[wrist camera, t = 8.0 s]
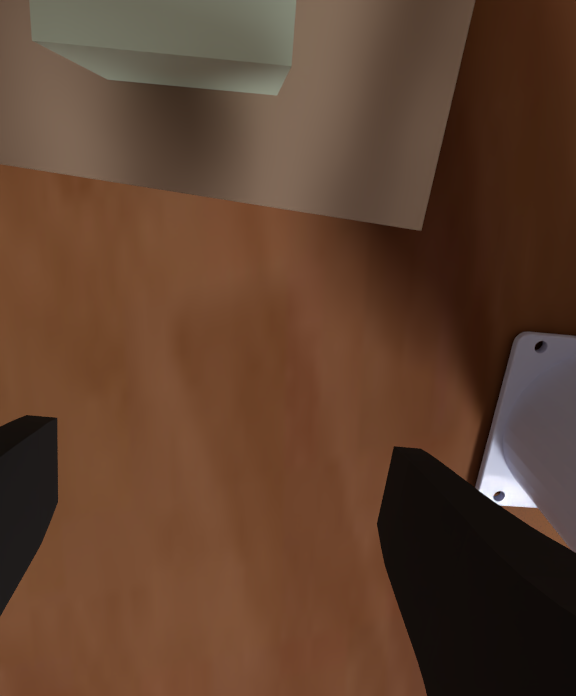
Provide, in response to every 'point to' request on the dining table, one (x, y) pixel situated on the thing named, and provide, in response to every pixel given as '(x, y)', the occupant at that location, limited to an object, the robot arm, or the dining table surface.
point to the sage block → (173, 40)
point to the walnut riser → (257, 115)
